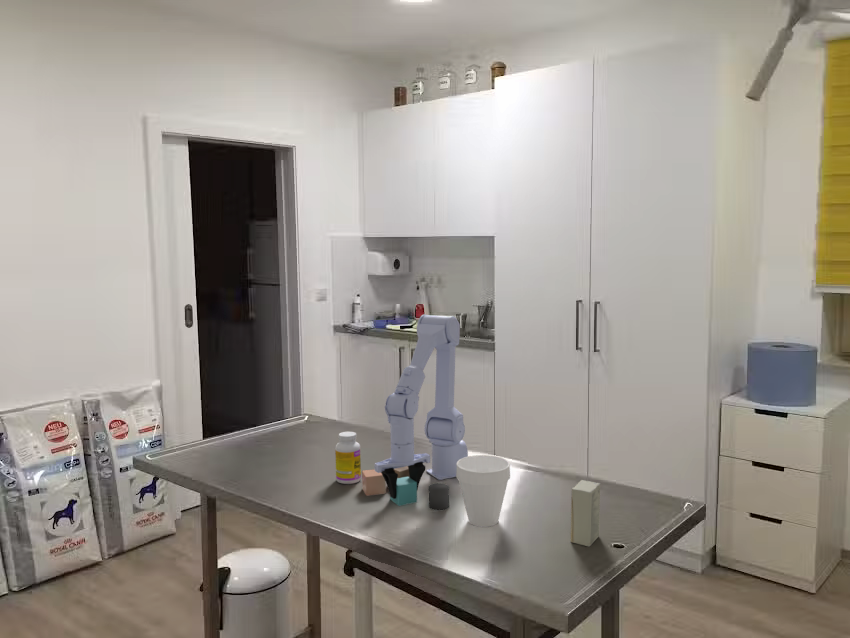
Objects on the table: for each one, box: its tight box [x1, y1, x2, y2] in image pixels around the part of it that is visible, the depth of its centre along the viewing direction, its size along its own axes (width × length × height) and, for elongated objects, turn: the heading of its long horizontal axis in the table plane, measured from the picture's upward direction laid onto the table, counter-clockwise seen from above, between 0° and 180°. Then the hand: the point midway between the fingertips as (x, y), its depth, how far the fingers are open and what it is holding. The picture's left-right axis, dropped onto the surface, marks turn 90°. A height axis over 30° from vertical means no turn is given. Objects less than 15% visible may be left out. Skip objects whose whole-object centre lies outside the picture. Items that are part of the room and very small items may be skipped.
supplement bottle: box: [334, 431, 362, 485], centre depth 193 cm, size 7×7×13 cm
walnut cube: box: [394, 466, 410, 478], centre depth 189 cm, size 5×5×5 cm
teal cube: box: [389, 477, 418, 507], centre depth 179 cm, size 5×5×5 cm
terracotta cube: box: [361, 468, 387, 497], centre depth 185 cm, size 5×5×5 cm
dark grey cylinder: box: [427, 482, 450, 511], centre depth 175 cm, size 5×5×5 cm
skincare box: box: [570, 479, 601, 547], centre depth 154 cm, size 6×4×12 cm
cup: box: [455, 454, 511, 528], centre depth 165 cm, size 12×12×14 cm
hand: (403, 495), depth 179 cm, fingers closed on teal cube, 5 cm apart
